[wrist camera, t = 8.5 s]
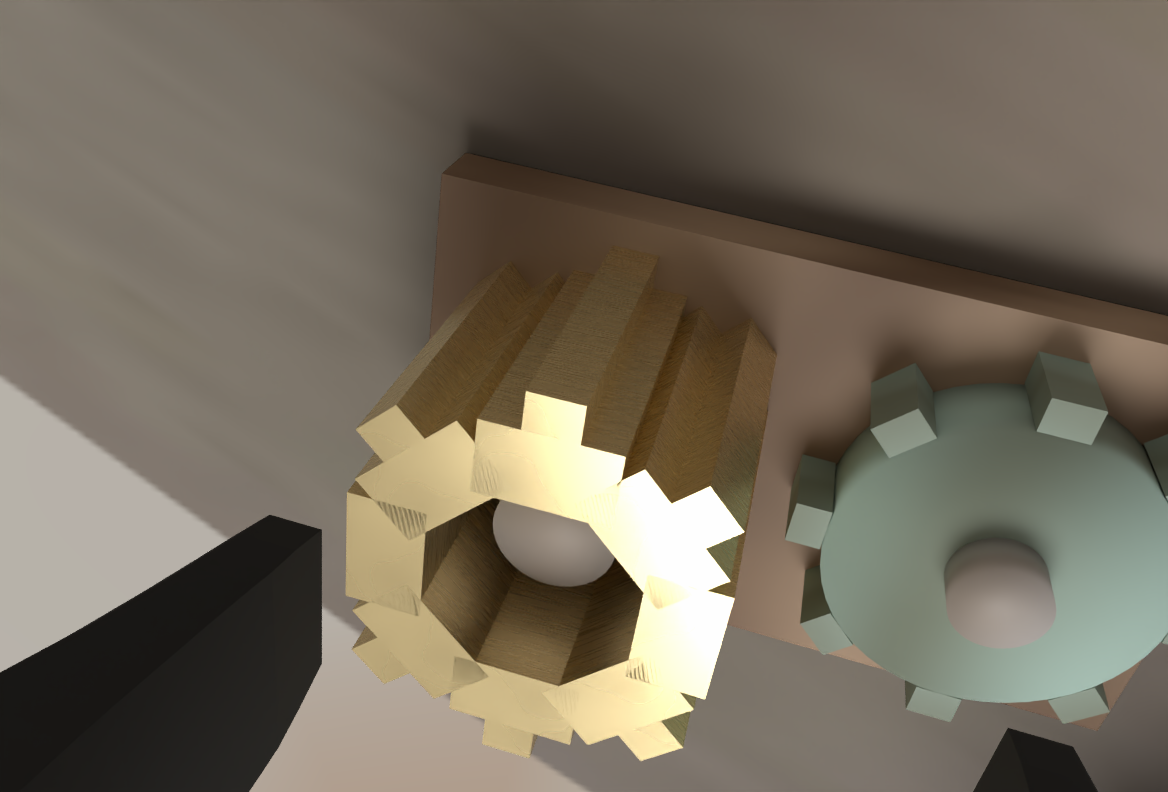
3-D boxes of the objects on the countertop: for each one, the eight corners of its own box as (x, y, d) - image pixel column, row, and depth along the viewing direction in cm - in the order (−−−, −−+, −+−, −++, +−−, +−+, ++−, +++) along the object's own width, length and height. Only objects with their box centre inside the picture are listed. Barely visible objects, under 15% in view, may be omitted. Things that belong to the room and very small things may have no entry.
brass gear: (802, 288, 17) (776, 454, 12) (717, 594, 20) (674, 803, 16) (477, 214, 17) (348, 346, 13) (451, 521, 21) (344, 702, 17)
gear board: (1291, 344, 16) (1422, 518, 12) (1086, 685, 21) (1135, 895, 17) (466, 153, 18) (351, 251, 14) (435, 501, 22) (341, 652, 18)
